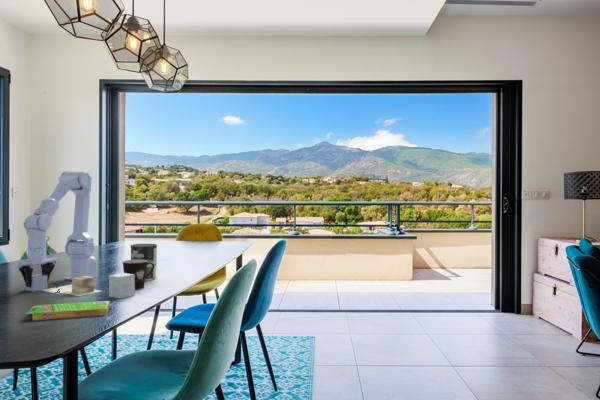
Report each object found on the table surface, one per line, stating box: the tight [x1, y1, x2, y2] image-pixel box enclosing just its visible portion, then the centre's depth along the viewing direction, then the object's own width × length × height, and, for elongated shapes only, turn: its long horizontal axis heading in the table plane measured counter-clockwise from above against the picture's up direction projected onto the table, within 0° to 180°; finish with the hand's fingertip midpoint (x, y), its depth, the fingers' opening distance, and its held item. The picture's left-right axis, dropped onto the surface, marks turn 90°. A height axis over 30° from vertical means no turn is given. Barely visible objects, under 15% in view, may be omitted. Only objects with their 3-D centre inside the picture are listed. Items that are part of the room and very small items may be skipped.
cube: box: [24, 273, 48, 292], centre depth 152 cm, size 5×5×5 cm
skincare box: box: [108, 272, 136, 299], centre depth 144 cm, size 6×6×7 cm
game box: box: [25, 300, 111, 321], centre depth 123 cm, size 3×10×20 cm
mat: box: [64, 288, 104, 297], centre depth 148 cm, size 9×9×1 cm
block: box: [71, 276, 95, 294], centre depth 149 cm, size 5×5×5 cm
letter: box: [42, 284, 72, 294], centre depth 154 cm, size 13×10×1 cm
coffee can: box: [130, 243, 158, 282], centre depth 174 cm, size 10×10×14 cm
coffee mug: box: [122, 259, 154, 291], centre depth 158 cm, size 12×9×10 cm
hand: (36, 285), depth 152 cm, fingers closed on cube, 5 cm apart
